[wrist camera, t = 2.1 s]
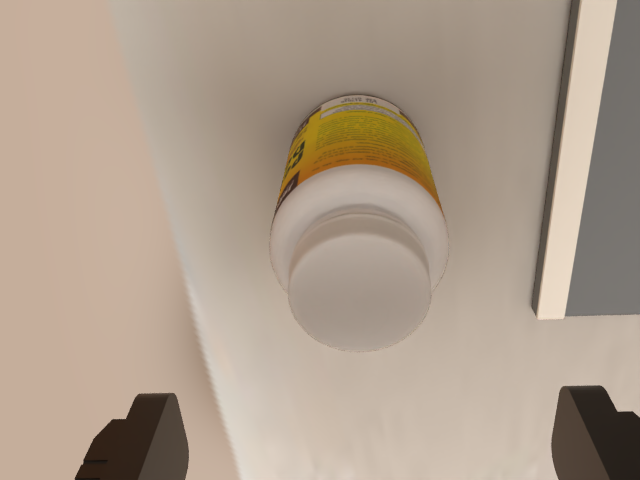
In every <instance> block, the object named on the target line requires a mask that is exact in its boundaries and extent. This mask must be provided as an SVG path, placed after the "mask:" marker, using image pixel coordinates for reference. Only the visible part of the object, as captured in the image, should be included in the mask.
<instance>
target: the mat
mask: <svg viewBox="0 0 640 480" xmlns="http://www.w3.org/2000/svg"><path fill="white" fill-rule="evenodd" d="M532 309H533V311H534V313H535V315H536V318H537V320H544V319H564V317H565V316H594V315H632V314H640V0H572V6H571V14H570V21H569V29H568V36H567V44H566V51H565V59H564V66H563V74H562V81H561V89H560V97H559V104H558V112H557V119H556V127H555V134H554V142H553V149H552V157H551V165H550V172H549V180H548V187H547V195H546V202H545V210H544V217H543V225H542V233H541V240H540V248H539V255H538V263H537V270H536V278H535V285H534V293H533V301H532Z"/></svg>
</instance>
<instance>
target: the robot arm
mask: <svg viewBox="0 0 640 480" xmlns="http://www.w3.org/2000/svg"><path fill="white" fill-rule="evenodd" d="M551 447H552V458H553V463H554V467H555V471H556V474H557V476H558V479H559V480H640V417H638V416H637V415H636V414H635V413H634V412H633V411H631V412H617V410H616V408H615V406H614V404H613V403H612V401H611V399H610V397H609V395H608V393H607V391H606V390H605V389H604V387H602V386H600V385H598V386H563V387H562V388H561V390H560V393H559V398H558V404H557V410H556V416H555V422H554V428H553V434H552V443H551ZM188 460H189V450H188V442H187V437H186V433H185V429H184V425H183V421H182V417H181V412H180V408H179V404H178V400H177V397H176V395H175V394H174V393H152V394H138V395H137V396H136V398H135V399H134V402H133V404H132V406H131V408H130V411H129V413H128V415H127V418H126V419H113V420H111V422H110V423H108V425H107V426H106V427H105V428H104V429H103V430H102V431H101V432H100V433H99V434H98V435H97V436H96V437H95V438H94V439H93V442H92V443H91V445H90V448H89V450H88V452H87V454H86V456H85V458H84V463H83V465H81V467H80V469H79V471H78V473H77V475H76V477H75V480H185V478H186V473H187V469H188Z"/></svg>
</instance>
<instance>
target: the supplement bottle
mask: <svg viewBox="0 0 640 480" xmlns="http://www.w3.org/2000/svg"><path fill="white" fill-rule="evenodd" d="M269 247H270V258H271V263H272V267H273V270H274V273H275V275H276V277H277V279H278V281H279V283H280V284H281V286H282V288H283V289H284V290H285V292H286V293H287V294H288V299H289V304H290V308H291V311H292V313H293V315H294V317H295V319H296V321H297V322H298V324H299V325H300V326H301V327H302V329H303V330H304V331H305V332H307V333H308V334H309V335H310V336H311V337H313V338H314V339H316V340H317V341H319V342H320V343H323V344H325V345H327V346H329V347H332V348H335V349H339V350H343V351H350V352H369V351H375V350H379V349H383V348H387V347H389V346H392V345H394V344H396V343H398V342H400V341H402V340H403V339H405V338H406V337H407V336H409V335H410V334H411V333H412V332H413V331H414V330H415V329H416V328H417V327H418V326H419V325H420V324H421V322H422V321H423V319H424V317H425V316H426V314H427V311H428V309H429V305H430V301H431V296H432V295H431V293H432V292H433V290H434V289H435V288H436V286H437V285H438V283H439V281H440V279H441V277H442V276H443V273H444V271H445V268H446V265H447V261H448V255H449V236H448V230H447V225H446V221H445V218H444V214H443V211H442V208H441V204H440V201H439V198H438V194H437V191H436V187H435V184H434V180H433V177H432V174H431V170H430V166H429V163H428V159H427V156H426V153H425V149H424V146H423V143H422V140H421V137H420V135H419V133H418V131H417V129H416V127H415V125H414V124H413V123H412V121H411V120H410V119H409V117H408V116H407V115H406V114H405V113H404V112H403V111H401V110H400V109H399V108H397V107H396V106H394V105H393V104H391V103H389V102H387V101H385V100H382V99H379V98H376V97H371V96H364V95H351V96H344V97H340V98H336V99H333V100H331V101H328V102H326V103H324V104H323V105H321V106H319V107H318V108H316V109H315V110H314V111H312V112H311V113H310V114H309V115H308V116H307V117H306V118H305V120H304V121H303V122H302V123H301V125H300V126H299V128H298V130H297V131H296V133H295V136H294V138H293V141H292V144H291V147H290V151H289V155H288V160H287V164H286V168H285V172H284V177H283V181H282V185H281V189H280V193H279V197H278V202H277V206H276V210H275V215H274V218H273V222H272V227H271V233H270V243H269Z"/></svg>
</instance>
